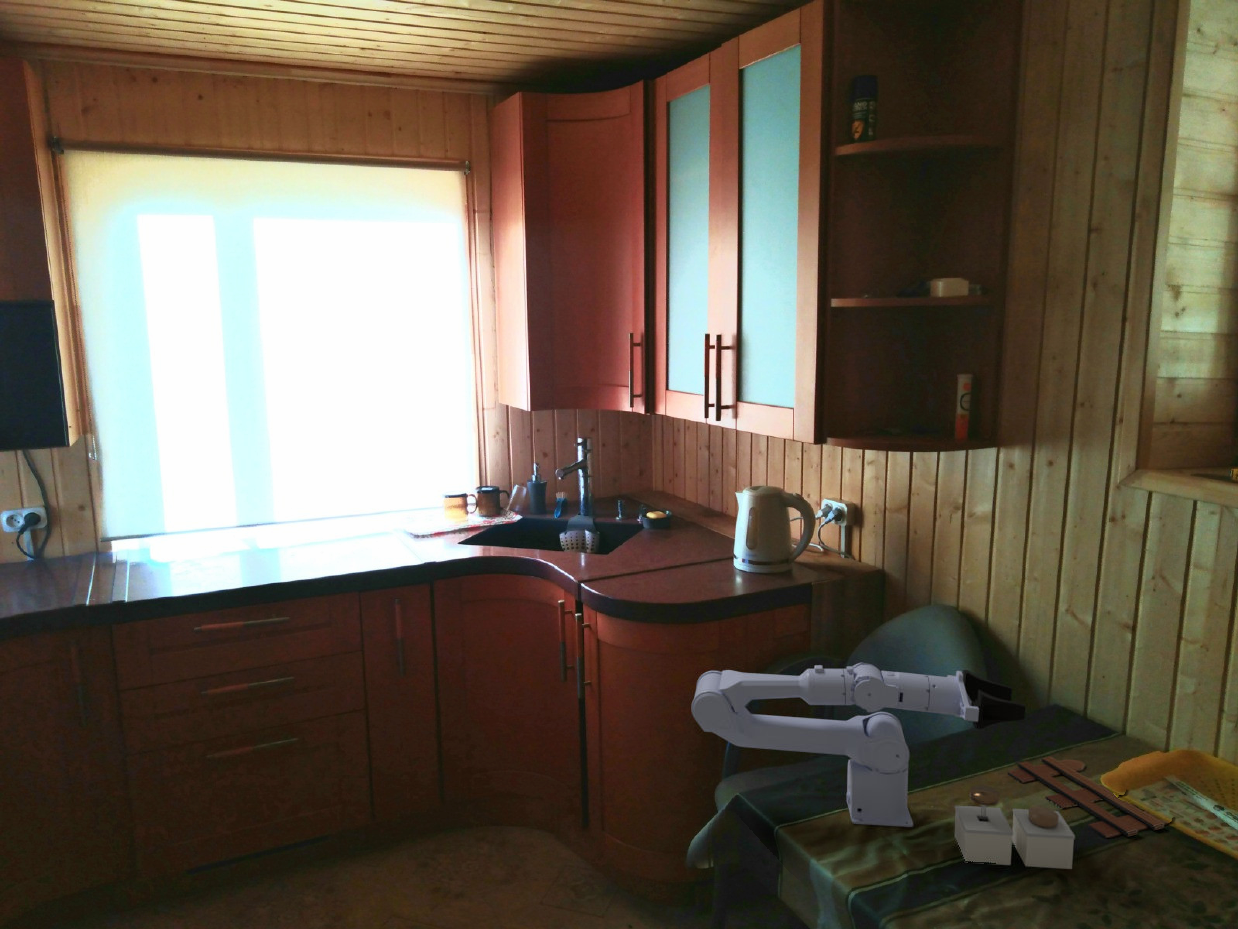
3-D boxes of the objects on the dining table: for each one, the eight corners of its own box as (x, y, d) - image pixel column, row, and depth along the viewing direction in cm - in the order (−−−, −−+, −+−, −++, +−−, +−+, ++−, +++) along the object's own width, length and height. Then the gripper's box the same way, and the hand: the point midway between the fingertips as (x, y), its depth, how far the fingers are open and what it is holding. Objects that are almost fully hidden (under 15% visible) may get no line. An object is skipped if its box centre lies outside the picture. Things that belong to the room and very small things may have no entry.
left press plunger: (972, 834, 127) (974, 798, 126) (965, 819, 131) (967, 784, 130) (1000, 836, 126) (1002, 800, 125) (992, 821, 130) (994, 785, 129)
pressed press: (1025, 866, 125) (1027, 825, 124) (1008, 836, 133) (1010, 797, 132) (1072, 869, 124) (1075, 827, 123) (1053, 839, 132) (1056, 799, 131)
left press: (964, 862, 126) (966, 829, 125) (951, 833, 134) (953, 801, 133) (1011, 865, 125) (1013, 832, 125) (996, 835, 133) (997, 804, 132)
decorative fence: (1111, 847, 131) (1185, 829, 135) (1111, 836, 130) (1186, 818, 135) (1002, 775, 152) (1069, 761, 157) (1003, 765, 152) (1070, 752, 156)
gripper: (936, 685, 128) (1033, 695, 125) (921, 654, 142) (1007, 663, 140) (932, 730, 129) (1028, 741, 126) (917, 695, 143) (1003, 704, 140)
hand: (1017, 703), depth 133 cm, fingers open, 7 cm apart
